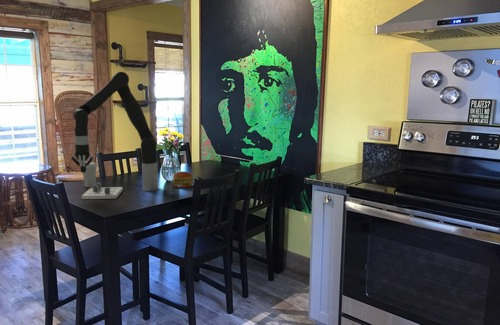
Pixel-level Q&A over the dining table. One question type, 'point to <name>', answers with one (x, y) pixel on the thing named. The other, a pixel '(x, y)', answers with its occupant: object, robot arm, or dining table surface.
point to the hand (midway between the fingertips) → (83, 172)
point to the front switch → (107, 190)
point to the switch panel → (102, 193)
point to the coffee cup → (90, 175)
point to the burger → (182, 180)
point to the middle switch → (96, 187)
